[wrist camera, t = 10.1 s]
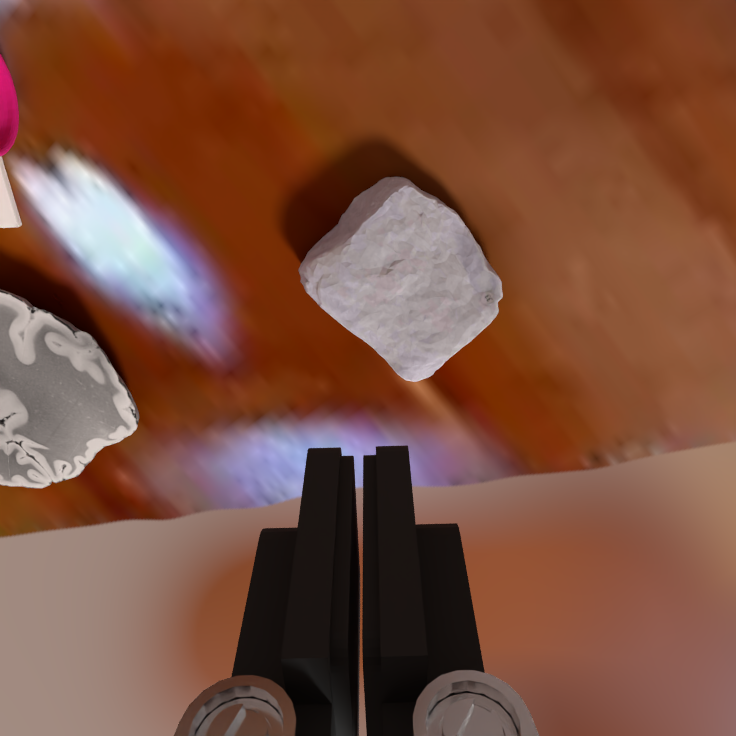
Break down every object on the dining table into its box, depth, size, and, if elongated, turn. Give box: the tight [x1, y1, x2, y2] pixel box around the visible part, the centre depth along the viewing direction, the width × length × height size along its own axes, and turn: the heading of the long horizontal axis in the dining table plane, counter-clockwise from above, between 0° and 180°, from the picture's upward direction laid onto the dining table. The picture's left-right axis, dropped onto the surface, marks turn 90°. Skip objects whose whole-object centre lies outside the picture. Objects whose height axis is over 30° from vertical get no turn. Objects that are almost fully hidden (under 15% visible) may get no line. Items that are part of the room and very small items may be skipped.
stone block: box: [299, 176, 503, 382], centre depth 42 cm, size 12×5×10 cm
